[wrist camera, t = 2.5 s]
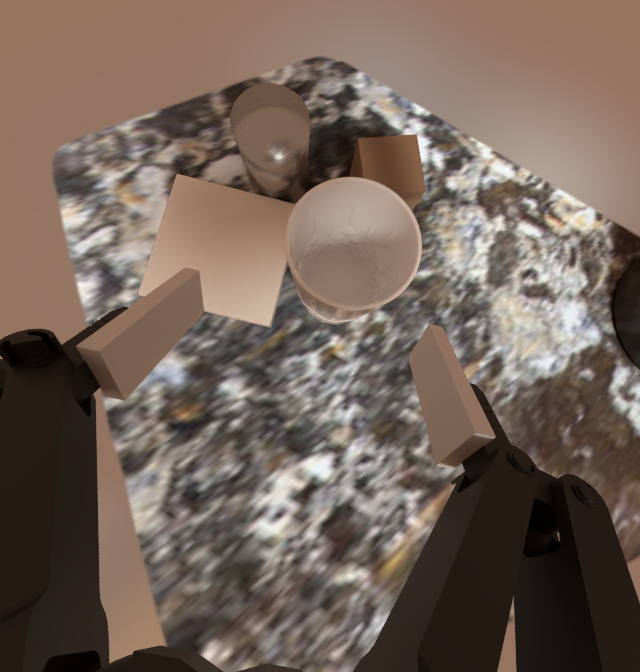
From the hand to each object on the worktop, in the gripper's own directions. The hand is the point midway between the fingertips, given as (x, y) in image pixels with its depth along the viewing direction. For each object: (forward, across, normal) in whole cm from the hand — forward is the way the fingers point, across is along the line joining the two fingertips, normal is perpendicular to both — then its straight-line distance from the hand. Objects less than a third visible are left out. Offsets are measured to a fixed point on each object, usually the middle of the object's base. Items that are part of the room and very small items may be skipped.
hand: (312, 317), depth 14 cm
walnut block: (+17, +4, +4) cm, 18 cm away
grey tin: (+17, -6, +4) cm, 18 cm away
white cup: (+10, +1, -3) cm, 10 cm away
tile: (+10, -10, -2) cm, 14 cm away
